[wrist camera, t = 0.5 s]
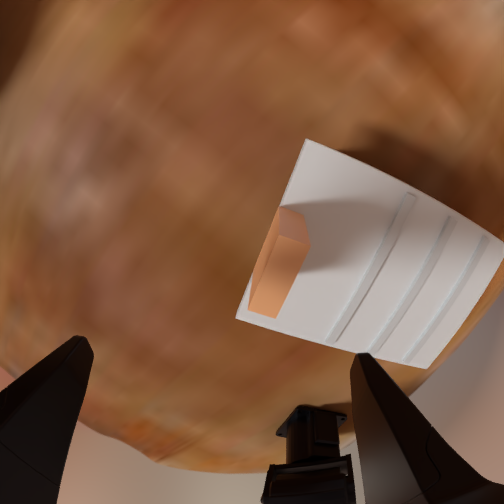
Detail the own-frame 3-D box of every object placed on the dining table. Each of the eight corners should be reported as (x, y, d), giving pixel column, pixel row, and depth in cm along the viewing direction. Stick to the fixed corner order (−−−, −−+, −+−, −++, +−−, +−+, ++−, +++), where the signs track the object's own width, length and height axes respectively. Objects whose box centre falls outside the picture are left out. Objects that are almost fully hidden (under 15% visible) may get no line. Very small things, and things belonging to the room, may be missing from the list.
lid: (422, 359, 22) (441, 405, 17) (236, 307, 21) (225, 362, 16) (500, 239, 17) (542, 274, 12) (303, 136, 16) (314, 146, 11)
